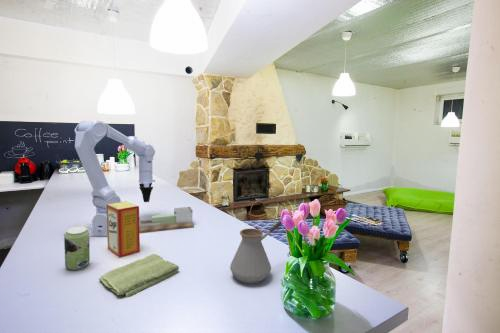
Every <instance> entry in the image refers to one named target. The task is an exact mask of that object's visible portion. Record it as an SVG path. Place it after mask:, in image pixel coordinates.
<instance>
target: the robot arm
mask: <svg viewBox="0 0 500 333" xmlns="http://www.w3.org/2000/svg"><path fill="white" fill-rule="evenodd" d="M74 128H75V129H73V130H74V133H75V138H74V139H75V140H74V149H75V151H76V153H77V155H78V158H79V161H80V162H81V165H82V167H83V170H84V171H85V173H86V176H87V178H88V181H89V183H90V185H91V187H92V189H93V190H92V192H91V196H92V204H93V206H94V207H95V210H96V214H95V215H94V216H93V218H92V219H91V226H92V233H91V234H89V237H108V234H107V204H112V203H118V202H122V201H121V198H120V196H119V195H117V194H116V190H114V189H113V188H112V187H111V186H110V184H109V183H108V180H107V178H106V175H105V173H104V171H103V168H102V165H101V164H100V161H99V158H98V156H97V153H96V151H95V147H96V145H97V144H98V143H99V142H100V141H101V140H102V139H104V138H105V137H107V138H110V139H112V140H114V141H116V142H118V143H119V144H120V143H121V144H123V148H124V149H127V150H129V151H131V152H132V153H134V154H136V156H137V157H138V183H139V184H138V185H139V190H140V191H141V194H142V199H143V202H144V203H149V202H150V199H151V195H152V191H153V188H154V186H152V185H153V183H155V182H156V179H153V160H154V156H155V154H156V150H155V148H154V146H153V145H151V144H146V141H144V140H143V141H142V140H140V139H138V136H135V135H133V136H132V135H129V136H127V135H125V134H123V133H122V132H120V131H118V130H117V129H115V128H113V126H110V125H109V124H108V123H104V122H103V121H101V120H94V121H93V120H92V121H91V120H90V121H89V120H88V121H87V120H84V121H80V122H79V123H78V124H77V125H76V127H74Z"/></svg>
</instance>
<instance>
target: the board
mask: <svg viewBox="0 0 500 333" xmlns="http://www.w3.org/2000/svg"><path fill="white" fill-rule="evenodd" d="M191 228H195V225H194V223H193V222H192V223H189V224H179V225H176V224H167V225H160V226H159V227H149V228H139V234H144V233H145V234H146V233H153V232H154V233H155V232H164V231H173V230H182V229H191Z"/></svg>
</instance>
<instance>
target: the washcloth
mask: <svg viewBox="0 0 500 333" xmlns="http://www.w3.org/2000/svg"><path fill="white" fill-rule="evenodd" d="M179 269H180V268H179V266H178V265H177V264H176V263H174V262H171V261H169V260H165V259H164V258H163V257H161V255H158V254H157V253H152V254H149V255H147V256H146V257H144V258H141V259H136V260H135V261H132V262H129V263H128V264H126V265H123V266H120V267H117V268H114V269H112V270H109V271H107V272H105V273H104V274H103V275H102V276H100V277H99V278H98V280H99V281H100V282H102V283H103V284H104V285H105V287H107V288H108V289H109V290H111V291H112V292H113V293H115V294H116V295H117V296H124V297H125V298H129V297H131V296H133V295H135V294H137V293H139V292H141V291H144V290H145V289H147V288H149V287H152V286H153V285H156V284H158V283H159V282H161V281H165V279H167V278H169V277H172V276H174V275H175V274H177V272H178V271H179Z"/></svg>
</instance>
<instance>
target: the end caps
mask: <svg viewBox="0 0 500 333" xmlns="http://www.w3.org/2000/svg"><path fill="white" fill-rule="evenodd" d="M173 211H174V212H173V214H176V225H179V224H189V223H193V215H194V214H193V211H194V210H193V209H192V207H191V206H186V207H174V208H173ZM141 218H142V217H141V216H139V228H149V227H159V226H160V222H159V223H152V221H151V219H143V220H142V219H141Z"/></svg>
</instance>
